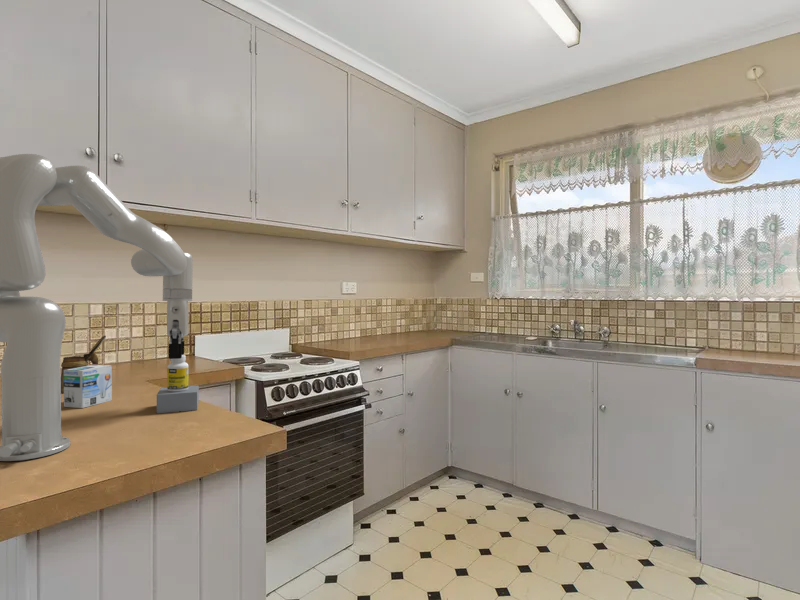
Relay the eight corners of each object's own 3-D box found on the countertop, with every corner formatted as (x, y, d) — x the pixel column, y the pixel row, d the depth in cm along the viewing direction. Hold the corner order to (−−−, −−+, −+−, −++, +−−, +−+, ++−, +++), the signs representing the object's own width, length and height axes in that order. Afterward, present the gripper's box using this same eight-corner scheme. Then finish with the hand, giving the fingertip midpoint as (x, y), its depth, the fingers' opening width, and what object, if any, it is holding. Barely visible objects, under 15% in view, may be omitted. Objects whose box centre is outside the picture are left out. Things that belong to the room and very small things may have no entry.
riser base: (197, 410, 128) (197, 392, 128) (156, 413, 124) (156, 395, 124) (198, 402, 137) (198, 385, 137) (161, 405, 133) (160, 387, 133)
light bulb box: (82, 408, 129) (82, 370, 129) (62, 407, 131) (62, 369, 131) (113, 400, 140) (112, 364, 140) (94, 399, 141) (94, 364, 141)
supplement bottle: (165, 392, 127) (165, 357, 127) (169, 388, 132) (169, 354, 132) (186, 391, 128) (186, 356, 128) (190, 387, 134) (189, 354, 133)
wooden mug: (107, 389, 156) (107, 336, 155) (58, 394, 148) (57, 338, 147) (105, 385, 163) (105, 334, 163) (57, 389, 155) (57, 336, 154)
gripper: (190, 295, 123) (189, 359, 123) (193, 296, 139) (192, 353, 139) (159, 295, 121) (157, 360, 120) (165, 296, 137) (165, 354, 136)
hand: (176, 356), depth 130 cm, fingers open, 9 cm apart
